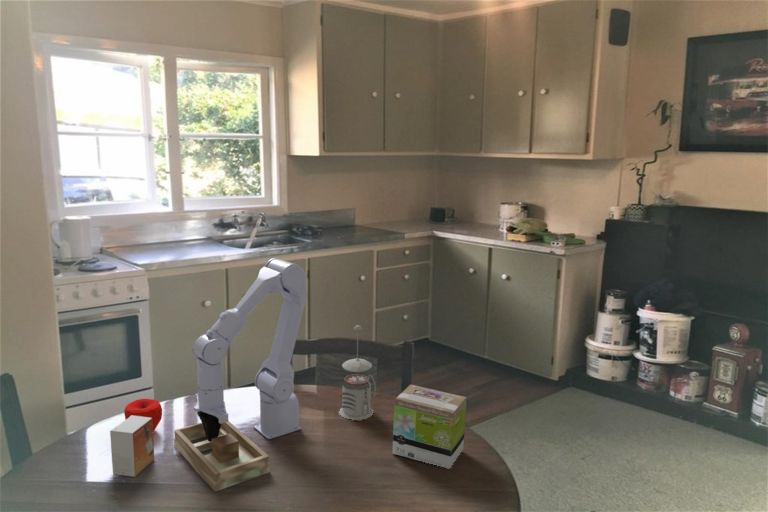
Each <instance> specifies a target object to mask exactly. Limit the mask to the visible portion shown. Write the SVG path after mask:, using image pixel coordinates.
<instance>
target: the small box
mask: <svg viewBox="0 0 768 512" xmlns="http://www.w3.org/2000/svg"><path fill="white" fill-rule="evenodd" d="M109 433H110V436H109V437H110V448H111V449H110V452H111V465H112V474H113V475H118V476H125V477H131V478H132V477H134V478H135V477H136V476H138V474H140V473H141V472H142V471H143V470H144V469H145V468H146V467H148V466H149V465H150V464H151V463H153V460H154V461H155V447H154V446H155V445H154V443H155V442H154V431H153V419H152V418H149V417H141V416H133V415H131V416H130V417H129V418H128V419H126V420H123V422H121V423H120V424H119V423H118V424H117V426H115V427H114V428H112V429H110V430H109Z"/></svg>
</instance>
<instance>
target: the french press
mask: <svg viewBox="0 0 768 512" xmlns="http://www.w3.org/2000/svg"><path fill="white" fill-rule="evenodd" d="M354 330H355V331H356V332H357V334H356V335H357V336H356V358H351V359H348V360H346V361H344V362H343V363H342V364H341V366H342V368H343V370H345V371H346V372H350V373H352V374H348V375H346V376H345V377H344V378H343V381H344V382H343V383H342V391H341V392H342V401H341V402H342V405H341V406H342V407H341V408H340V409H339V410H340V411H339V410H338V415H339V416H340V415H341V416H342V417H344V418H343V419H345V418H347V419H352V420H351V421H354V420H357V421H363V420H362V419H365V418H368V417H370V416H372V415H373V416H374V414H375V411H374V409H373V408H372V407H371V405H372V404H371V403H372V401H371V400H373V399H374V398H375V396H376V392H377V391H376V389H377V387H376V382H375V379H374V377H373V375H371V373H368V375H364V374H358V373H363V372H367V371H369V370H371V369H372V367H373V364H372V362H370V361H368V360H366V359H364V358H358V356H359V332H360V331H361V330H362V326H361V325H358V324H357V325H355V326H354ZM353 373H355V374H353ZM370 378H371V379H372V381H373V385H374V393H373V396H372V383H371V382H370V381H371V379H370ZM364 386H369V387H364ZM356 387H357V388H356ZM359 387H362V388H359ZM373 411H374V412H373ZM373 413H374V414H373ZM341 416H340V417H341ZM373 416H372V417H373ZM342 417H341V418H342ZM370 418H371V417H370ZM347 419H346V420H347ZM358 419H359V420H358ZM365 420H366V419H365Z"/></svg>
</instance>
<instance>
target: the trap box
mask: <svg viewBox="0 0 768 512" xmlns="http://www.w3.org/2000/svg"><path fill="white" fill-rule="evenodd" d="M173 431H174V438H173V447H174V448H175V449H176V450H177V451H178V450H179V451H178V452H179V453H180V454H181V455H182V457H184V459H185V460H186V461H187V462H188V464H190V466H191V467H192V468H193V469H194V470H195V471H196V472H197V474H199V475H200V477H201V478H202V479H203V480H204V482H206V484H207V485H208V486H209V487H210V488H211V489H212V490H213V491H214V492H215V493H216V492H218V491H222V490H223V489H224V490H225V489H227V488H230V487H233V486H235V485H238V484H241V483H243V482H246V481H249V480H252V479H256V478H258V477H260V476H262V475H266V474H269V473H271V464H270V455H268V454H267V453H266V452H265V451H264V450H263V449H261V448H260V447H259V446H258V445H257V444H255V443H254V442H253V441H252V440H251V439H250V438H249V437H248V436H246V435H245V434H244V433H243V432H242V431H241V430H240V429H239V428H238V427H236V426H235V425H234V424H233V423H231V422H230V421H229V420H228V422H225V423H222V424H221V427H220V431H219V435H218V437H219V436H223V435H226V434H229V433H230V434H232V435H233V436H234V437H235V438H236V439H237V440H238V441H239V457H238V458H235V459H232V460H229V461H226V462H223V463H220V462H219V461H218V460H217V459H216V458H215V457H214V456H213V455H212V441H211V442H209V441H208V440H207V438H206V434H205V431H204V427H203V424H202V422H198V423H195V424H192V425H188V426H184V427H181V428H177V429H174V430H173Z"/></svg>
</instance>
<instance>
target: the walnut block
mask: <svg viewBox="0 0 768 512" xmlns="http://www.w3.org/2000/svg"><path fill="white" fill-rule="evenodd" d="M212 455H213V456H214V457H215V458H216V459H217V460H218V461H219V462H220V463H223V462H226V461H229V460H232V459H235V458H238V457H239V441H238V440H237V439H236V438H235V437H234V436H233V435H232V434H230V433H229V434H226V435H223V436H219V437H216V438H213V439H212Z"/></svg>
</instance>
